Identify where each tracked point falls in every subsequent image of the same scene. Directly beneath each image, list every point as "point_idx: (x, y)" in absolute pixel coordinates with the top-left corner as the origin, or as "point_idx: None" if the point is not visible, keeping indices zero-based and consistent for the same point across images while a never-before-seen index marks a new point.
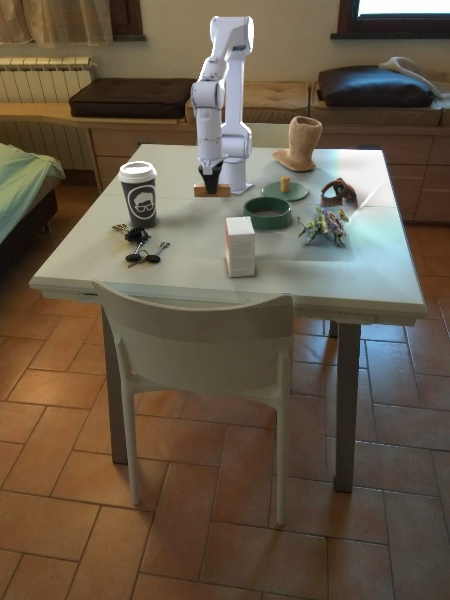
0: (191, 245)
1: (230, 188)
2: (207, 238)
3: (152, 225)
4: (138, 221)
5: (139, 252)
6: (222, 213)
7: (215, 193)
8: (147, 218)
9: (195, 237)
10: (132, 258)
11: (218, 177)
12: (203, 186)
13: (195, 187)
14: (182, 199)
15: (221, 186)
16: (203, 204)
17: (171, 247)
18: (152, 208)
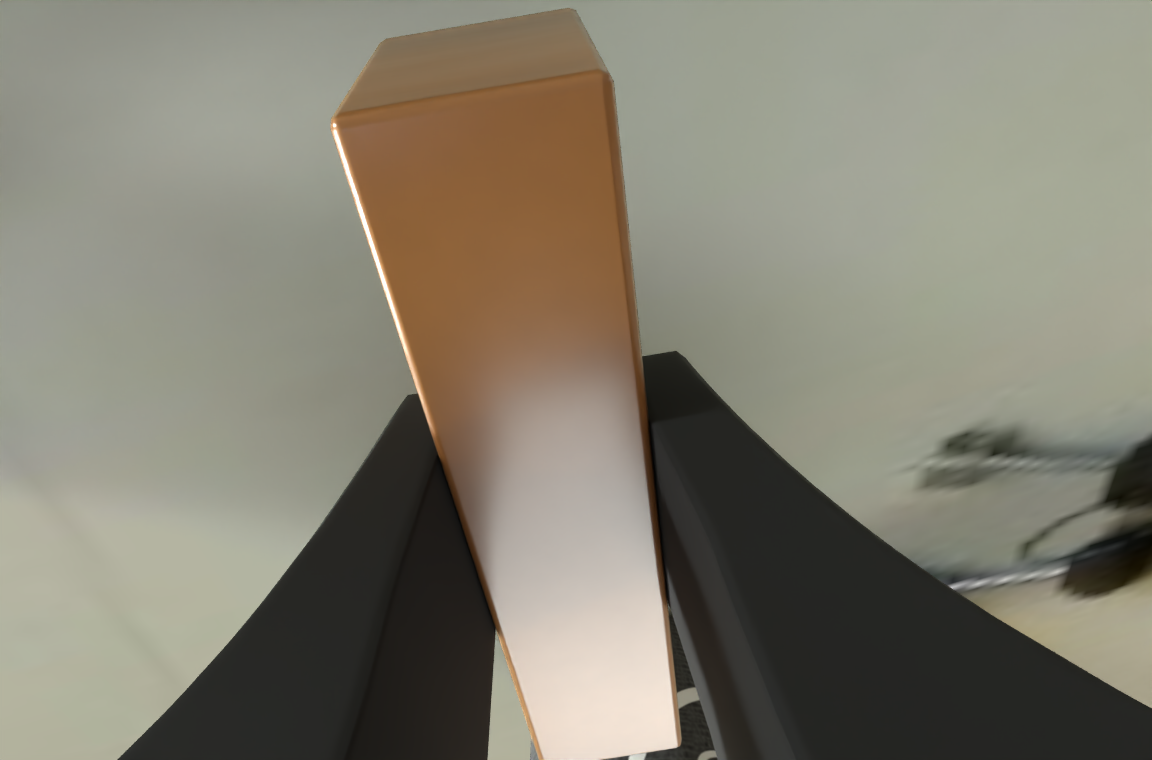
0: (1013, 269)
1: (463, 67)
2: (889, 157)
3: (671, 620)
4: None
5: (1047, 559)
6: (240, 152)
7: (688, 366)
8: None
9: (859, 280)
10: (1118, 565)
11: (1049, 653)
12: (655, 649)
13: (679, 720)
14: (122, 596)
15: (614, 339)
16: (120, 414)
17: (1018, 407)
18: (699, 749)
